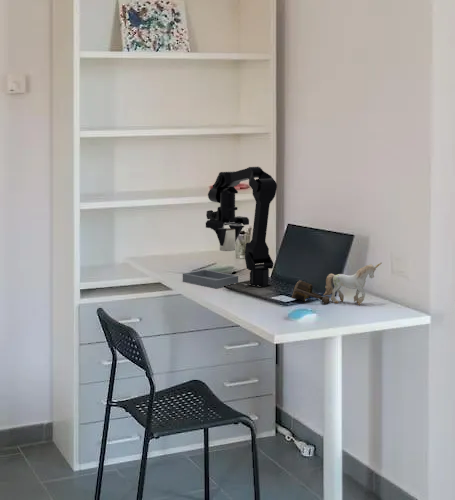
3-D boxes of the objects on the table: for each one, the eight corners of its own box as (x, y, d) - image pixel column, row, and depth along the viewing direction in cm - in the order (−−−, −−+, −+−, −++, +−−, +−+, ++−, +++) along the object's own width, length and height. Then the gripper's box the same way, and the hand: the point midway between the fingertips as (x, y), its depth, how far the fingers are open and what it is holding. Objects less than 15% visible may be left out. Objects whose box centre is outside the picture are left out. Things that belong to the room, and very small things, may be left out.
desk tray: (238, 283, 327) (238, 275, 327) (216, 288, 319) (216, 280, 319) (204, 277, 339) (204, 269, 339) (182, 281, 331) (182, 273, 331)
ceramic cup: (238, 249, 342) (238, 229, 341) (227, 251, 338) (227, 230, 337) (227, 248, 347) (227, 227, 345) (216, 249, 342) (216, 229, 341)
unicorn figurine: (383, 305, 294) (384, 266, 292) (324, 305, 294) (325, 265, 292) (380, 301, 301) (381, 262, 299) (322, 300, 302) (323, 261, 299)
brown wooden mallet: (305, 281, 307) (286, 278, 300) (335, 283, 298) (316, 280, 291) (303, 301, 306) (284, 300, 299) (333, 304, 297) (314, 302, 290)
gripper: (229, 200, 352) (229, 239, 354) (195, 204, 338) (195, 245, 341) (250, 203, 344) (249, 242, 347) (216, 207, 331) (216, 248, 333)
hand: (227, 244), depth 342 cm, fingers closed on ceramic cup, 6 cm apart
